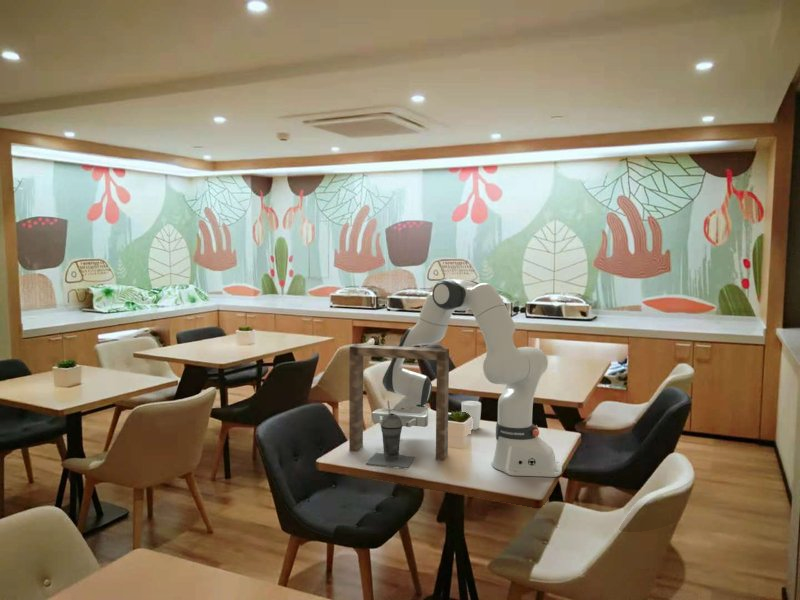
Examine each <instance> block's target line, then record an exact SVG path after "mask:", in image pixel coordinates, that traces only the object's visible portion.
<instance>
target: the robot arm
mask: <svg viewBox="0 0 800 600" xmlns="http://www.w3.org/2000/svg"><path fill="white" fill-rule="evenodd" d="M455 311H458V312H465V311H467V312H469V311H470V312H472V314H473V316H474V319H475V321H476V322H477V325H478V327H479V330H480V332H481V334H482V337H483V339H484V343H485V348H486V356H485V359H484V361H483V363H482V370H483V375H484V377H485V378H486V379H487V381H488V382H490V383H491V384H494V385H503V386H504V385H506V386H505V388H504V391H503V392H502V393H501V395H500V396H499V398H498V401H497V421H496V423H495V441H496V444H495V449H494V455H493V458H492V462H491V466H492V467H493V468H495V469H496V470H499V471H501V472H504V473H505V474H507V475H508V476H512V477H514V476H517V477H521V476H522V477H545V478H546V477H547V478H548V477H550V478H556V477H559V476H560V475H561V474H562V473H563V465H562V464H561V462H560V461H559V460H556V455H555V452H554V450H553V447H552V446H551V445H549V443H547V442H546V441H545V440H544V439H542V438H541V437H540V436H539V434H540V430H539V427H538V425H537V424H536V425H535V424H534V423H533V406H534V398H535V395H536V391H537V388H538V385H539V383H540V380H541V378H542V376H543V374H544V373H545V372H546V371H547V369H548V365H549V364H548V358H547V354H546V353H545V352H544V351H543V350H542V349H541V348H538V347H532V346H521V347H516V345H515V343H514V336H513V335H514V334H515V331H516V324H515V322H514V320H513V318H512V315H511V313H510V312H509V310H508V307H507V306H506V303H505V302H504V300H503V299H502V297H501V296H500V294H499V292H498V290H496V288H495V287H494V286H493V285H492V284H490V283H487V282H481V283H479V282H476V281H473V280H466V279H461V278H454V279H452V278H445V279H442V280H439V281H438V282H436V284H435V285H434V286H433V288H432V291H431V292H430V293H428V294H427V296H426V298H425V300H424V303H423V305H422V308H421V310H420V313H419V317H418V319H417V320H418V321H416V324H415V325H413V326H410V327H408V328H407V330H406V331H405V333H404V334H403V336H402V339H401V340H400V342H399V344H398V346H399V347H415V346H425V345H427V346H428V345H432V344H437V343H438V342H441V341H442V340H443V339H444V338H445V336H446V333H447V331H448V328H449V324H450V320H451V316H452V315H453V312H455ZM405 359H406V358H392V359H391V361H390V363H389V365H388V366H387V369H386V370H385V372H384V374H383V377H382V381H381V383H382V385H383V387H384V389H385V390H386V392H389V393H394V394H399V395H401V396H404V397H403V398H402V399H401V400H399V402H397V403H396V404H395V405H394V407H393V408H390V414H396V415H397V416H398V417H399V418H400V419H401V422H402V427H406V428H411V427H424V428H425V427H428V426H429V407H428V406H427V405H426V404H427V403H428V402H429V400H430V396H431V394H432V389H433V384H432V382H431V378H430V377H429V375H426V374H422V373H419V372H415V371H412V370H410V369H407V368H404V367H403V363H404V362H405ZM387 414H389V410H388V408H383V407H382V408H378V409H375V410H373V411H372V412H371V422H372V423H374V424H379V425H380V426H381V423H382V419H383V418H384V417H385V416H386V415H387Z"/></svg>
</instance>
